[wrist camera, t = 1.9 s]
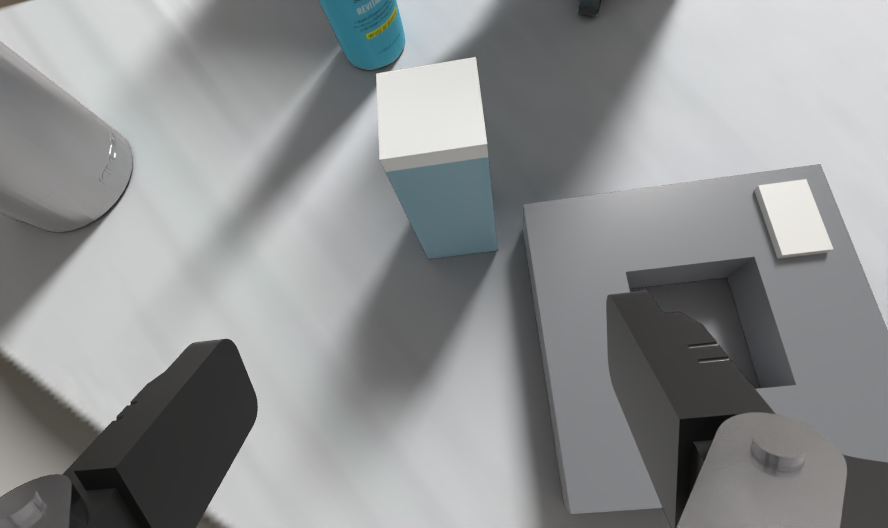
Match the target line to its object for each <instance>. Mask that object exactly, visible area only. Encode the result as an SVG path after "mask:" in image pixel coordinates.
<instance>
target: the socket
mask: <svg viewBox="0 0 888 528" xmlns="http://www.w3.org/2000/svg"><path fill="white" fill-rule="evenodd" d="M523 234H524V241H525V248H526V254H527V261H528V268H529V274H530V281H531V288H532V295H533V301H534V308H535V315H536V321H537V328H538V335H539V341H540V348H541V355H542V361H543V368H544V375H545V381H546V388H547V395H548V401H549V408H550V415H551V421H552V428H553V435H554V441H555V448H556V455H557V461H558V468H559V475H560V481H561V488H562V495H563V501H564V505H565V507H566V508H567V509H568V511H569V512H570V514H581V513H596V512H610V511H625V510H639V509H654V508H662V505H661V503H660V500H659V498H658V495H657V493H656V491H655V488H654V486H653V483H652V481H651V479H650V476H649V474H648V471H647V469H646V466H645V464H644V462H643V459H642V457H641V454H640V452H639V449H638V447H637V445H636V442H635V440H634V437H633V435H632V433H631V430H630V428H629V425H628V423H627V420H626V418H625V416H624V413H623V411H622V408H621V406H620V404H619V401H618V399H617V396H616V394H615V391H614V389H613V386H612V382H611V378H610V373H609V366H608V351H607V319H606V300H607V296H608V295H610V294H618V293H627V292H630V290H629V289H632V288H641V287H650V286H658V285H667V284H676V283H684V282H693V281H702V280H711V279H719V278H727V279H728V282H729V285H730V289H731V292H732V295H733V299H734V302H735V305H736V309H737V312H738V315H739V319H740V322H741V325H742V329H743V332H744V335H745V339H746V342H747V345H748V349H749V352H750V355H751V359H752V362H753V366H754V369H755V372H756V376H757V379H758V382H759V386H760V388H758V389H756V391H757V392H758V393H759V394H760V395H761V397H762V398H763V399H764V400H765V402H766V403H767V404H768V405H769V406H770V408H771V409H772V410H773V411H774V412H775V414H777V415H781V416H785V417H789V418H792V419H795V420H797V421H800V422H802V423H804V424H807V425H809V426H810V427H812V428H814V429H816V430H817V431H819V432H820V433H822V434H823V435H825V436H826V437H827V438H828V439H829V440H831V441H832V442H833V443H834V444H835V445H836V447H837V448H838V449H839V450H840V451H841V453H842V454H844V455H847V456H851V457H856V458H861V459H867V460H874V461H881V462H888V330H887V327H886V325H885V322H884V320H883V317H882V315H881V313H880V310H879V308H878V305H877V303H876V300H875V298H874V295H873V293H872V290H871V288H870V285H869V283H868V280H867V278H866V275H865V273H864V271H863V268H862V266H861V263H860V261H859V258H858V256H857V253H856V251H855V248H854V246H853V243H852V241H851V238H850V236H849V233H848V231H847V229H846V226H845V224H844V221H843V219H842V216H841V214H840V211H839V209H838V206H837V204H836V201H835V199H834V196H833V194H832V191H831V189H830V187H829V184H828V182H827V179H826V177H825V174H824V172H823V169H822V167H821V164H818V165H810V166H803V167H795V168H788V169H781V170H773V171H766V172H758V173H751V174H743V175H736V176H729V177H721V178H714V179H706V180H699V181H692V182H684V183H677V184H669V185H662V186H654V187H647V188H640V189H632V190H625V191H617V192H610V193H602V194H595V195H588V196H580V197H573V198H565V199H558V200H551V201H543V202H536V203H528V204H523Z"/></svg>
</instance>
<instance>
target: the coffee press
mask: <svg viewBox="0 0 888 528" xmlns="http://www.w3.org/2000/svg"><path fill="white" fill-rule="evenodd" d="M600 4H601V0H581V1H580V5H579V11H578V13H579V14H584V15H590V16H597V14H598V11H599V8H600Z"/></svg>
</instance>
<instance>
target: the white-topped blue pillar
mask: <svg viewBox="0 0 888 528" xmlns="http://www.w3.org/2000/svg"><path fill="white" fill-rule="evenodd" d="M376 82H377V108H378V133H379V158H380V162H381V164H382V166H383V168H384V170H385V172H386V174H387V176H388V178H389V180H390V182H391V184H392V186H393V188H394V190H395V192H396V194H397V196H398V198H399V201H400V203H401V205H402V207H403V209H404V211H405V213H406V215H407V217H408V219H409V221H410V223H411V225H412V227H413V229H414V231H415V233H416V235H417V237H418V239H419V241H420V243H421V245H422V248H423V250H424V252H425V254H426V256H427V258H428V259H433V258H441V257H449V256H457V255H465V254H473V253H481V252H489V251H496V250H498V248H497V238H496V228H495V218H494V208H493V197H492V187H491V177H490V167H489V157H488V147H487V138H486V131H485V123H484V115H483V108H482V100H481V93H480V85H479V77H478V70H477V62H476V57H472V58H466V59H460V60H454V61H448V62H442V63H436V64H430V65H424V66H418V67H412V68H406V69H400V70H394V71H388V72H382V73H376Z"/></svg>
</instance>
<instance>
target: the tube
mask: <svg viewBox="0 0 888 528" xmlns="http://www.w3.org/2000/svg"><path fill="white" fill-rule="evenodd" d="M319 1H320V3H321V6H322V8H323V10H324V12H325V14H326V16H327V18H328V20H329V22H330V24H331V26H332V29H333V31H334V33H335V35H336V37H337V39H338V41H339V43H340V45H341V47H342V50H343V52H344V54H345V56H346V58H347V59H348V61H349V62H350V63H351V64H353V65H354V66H356V67H358V68H361V69H367V70H374V69H378V68H381V67H384V66H386V65H388V64H390V63H392V62H394V61H395V60H396V59H397V58H398V57H399V55H400V54H401V52H402V50H403V48H404V45H405V35H404V30H403V26H402V22H401V18H400V14H399V10H398V6H397V2H396V0H319Z"/></svg>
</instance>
